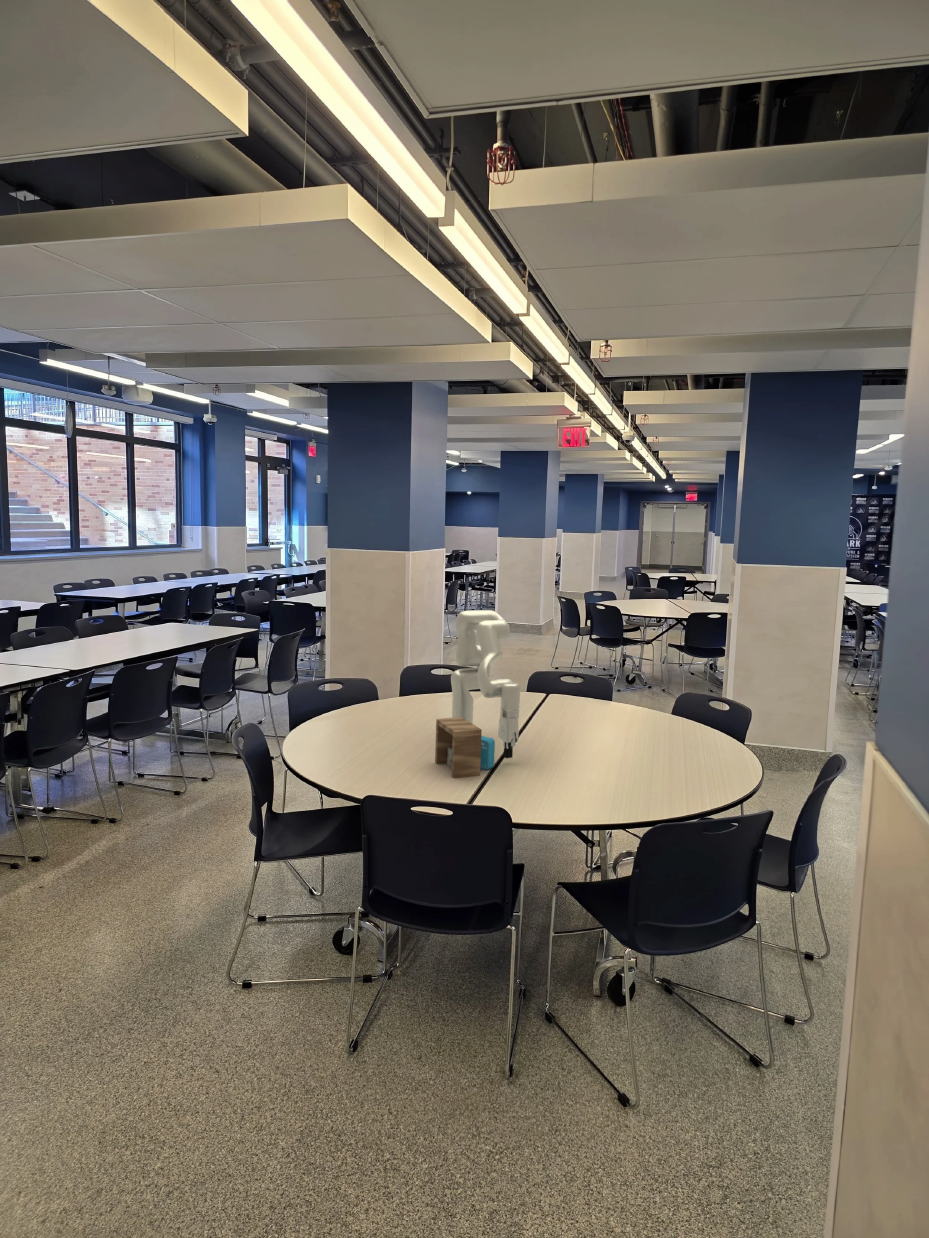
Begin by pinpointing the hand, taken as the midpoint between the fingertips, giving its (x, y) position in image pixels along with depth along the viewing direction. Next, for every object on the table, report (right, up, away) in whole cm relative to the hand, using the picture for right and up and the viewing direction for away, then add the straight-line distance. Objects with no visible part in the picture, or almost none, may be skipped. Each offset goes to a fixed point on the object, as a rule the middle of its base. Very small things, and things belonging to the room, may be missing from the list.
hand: (507, 757), depth 298 cm
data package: (-12, -3, -4) cm, 13 cm away
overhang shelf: (-20, -3, -8) cm, 22 cm away
